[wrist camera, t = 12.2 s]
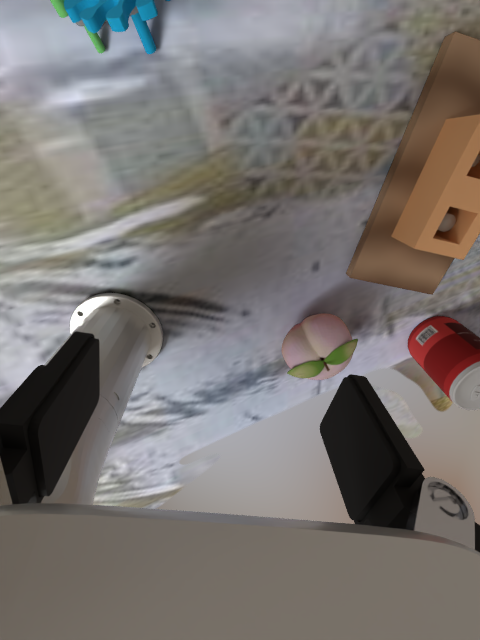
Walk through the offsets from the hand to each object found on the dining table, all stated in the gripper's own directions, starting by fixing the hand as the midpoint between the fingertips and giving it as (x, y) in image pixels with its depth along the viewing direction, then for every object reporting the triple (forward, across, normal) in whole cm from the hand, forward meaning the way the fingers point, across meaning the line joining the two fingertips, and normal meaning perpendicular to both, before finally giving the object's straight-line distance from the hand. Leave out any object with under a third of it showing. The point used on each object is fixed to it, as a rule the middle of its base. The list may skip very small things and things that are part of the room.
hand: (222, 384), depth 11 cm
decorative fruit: (+28, -15, +12) cm, 34 cm away
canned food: (+28, -34, +9) cm, 45 cm away
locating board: (+28, -23, -10) cm, 37 cm away
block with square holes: (+26, -23, -10) cm, 36 cm away
